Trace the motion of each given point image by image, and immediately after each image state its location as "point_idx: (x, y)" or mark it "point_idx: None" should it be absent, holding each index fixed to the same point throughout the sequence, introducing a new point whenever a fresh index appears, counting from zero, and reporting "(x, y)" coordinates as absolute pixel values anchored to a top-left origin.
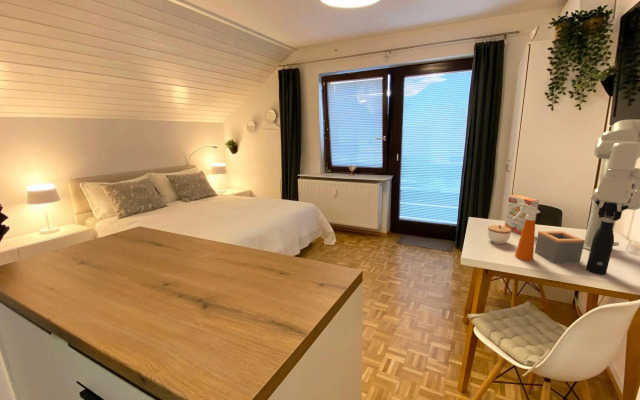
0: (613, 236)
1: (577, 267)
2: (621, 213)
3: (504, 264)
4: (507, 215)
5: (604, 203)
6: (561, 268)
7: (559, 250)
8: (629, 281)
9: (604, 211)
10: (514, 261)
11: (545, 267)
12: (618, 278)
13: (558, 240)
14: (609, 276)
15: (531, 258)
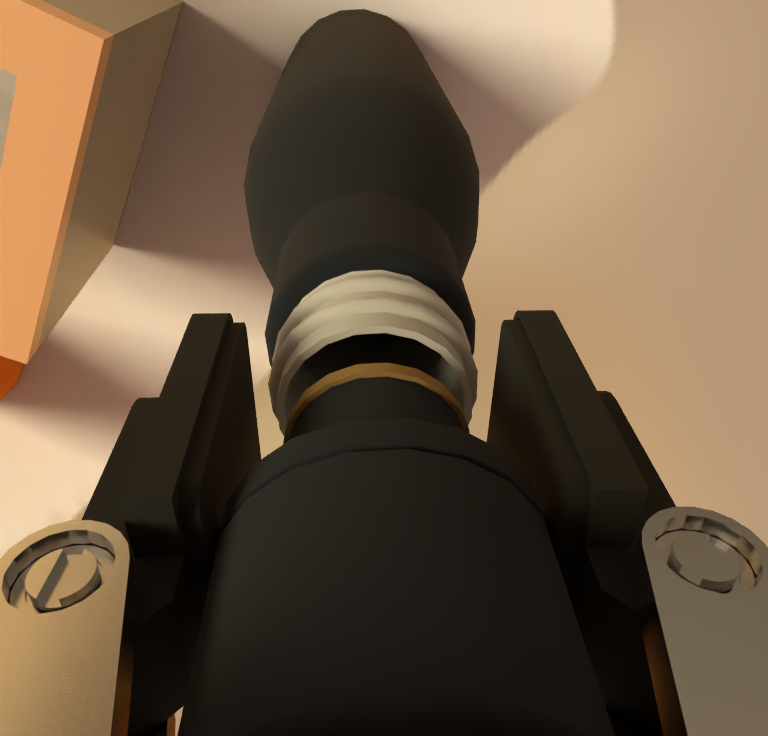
0: (476, 219)
1: (241, 145)
2: (657, 501)
3: None
4: None
5: (70, 722)
6: (207, 287)
7: (78, 272)
8: (585, 49)
9: (230, 488)
10: (10, 457)
11: (154, 370)
12: (515, 68)
13: (25, 357)
14: (459, 95)
15: (14, 360)
